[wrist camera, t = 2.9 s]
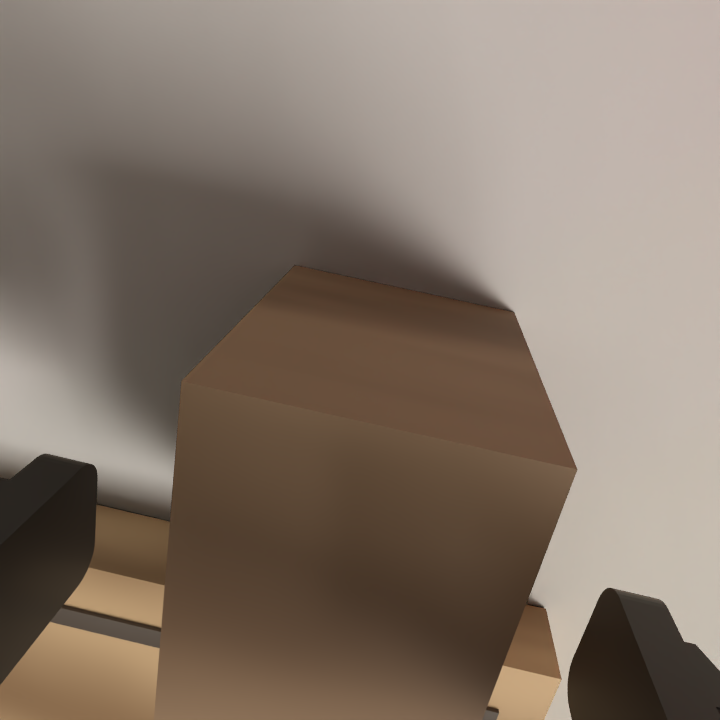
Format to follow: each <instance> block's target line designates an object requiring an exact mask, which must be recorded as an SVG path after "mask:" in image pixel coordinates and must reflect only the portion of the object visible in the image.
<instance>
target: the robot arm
mask: <svg viewBox="0 0 720 720" xmlns="http://www.w3.org/2000/svg"><path fill="white" fill-rule="evenodd" d="M96 504H97V470H96V468H95V466H94V465H92V464H88V463H84V462H80V461H75V460H71V459H67V458H63V457H58V456H54V455H50V454H42V455H40V456H39V457H37V458H36V459H34V460H33V461H32V462H31V463H30V464H28V465H27V466H26V467H25V468H23V469H22V470H21V471H20V472H19V473H17V474H16V475H15V476H14V477H12V478H11V479H10V480H8V479H4V478H0V685H1V684H2V682H3V681H4V680H5V678H6V677H7V676H8V675H9V673H10V672H11V671H12V670H13V668H14V667H15V666H16V664H17V663H18V662H19V661H20V659H21V658H22V657H23V656H24V654H25V653H26V652H27V650H28V649H29V648H30V647H31V645H32V644H33V643H34V642H35V640H36V639H37V638H38V637H39V635H40V634H41V633H42V631H43V630H44V629H45V628H46V626H47V625H48V624H49V623H50V621H51V620H52V619H53V617H54V616H55V615H56V614H57V612H58V611H59V610H60V609H61V607H62V606H63V605H64V603H65V602H66V601H67V600H68V598H69V597H70V596H71V595H72V593H73V592H74V591H75V590H76V588H77V587H78V586H79V584H80V583H81V581H82V580H83V578H84V576H85V574H86V572H87V570H88V568H89V565H90V562H91V559H92V556H93V552H94V547H95V529H96ZM568 703H569V708H570V713H571V717H572V720H720V671H719V670H718V669H717V668H716V667H715V665H714V664H713V663H712V662H711V661H710V660H709V659H708V658H707V657H706V655H705V654H704V653H703V652H702V651H701V650H700V649H699V648H698V647H697V646H696V644H691V643H687V642H684V641H683V639H682V637H681V635H680V633H679V631H678V628H677V626H676V624H675V622H674V620H673V618H672V616H671V614H670V612H669V610H668V608H667V606H666V605H665V604H664V602H663V601H661V600H659V599H655V598H651V597H647V596H643V595H638V594H634V593H630V592H626V591H621V590H617V589H613V588H607V589H605V590H604V591H603V592H602V594H601V595H600V597H599V599H598V602H597V604H596V606H595V609H594V611H593V613H592V616H591V618H590V620H589V623H588V625H587V627H586V630H585V632H584V634H583V636H582V639H581V641H580V643H579V646H578V648H577V650H576V653H575V655H574V657H573V660H572V663H571V666H570V671H569V677H568Z"/></svg>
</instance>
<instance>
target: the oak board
mask: <svg viewBox="0 0 720 720" xmlns="http://www.w3.org/2000/svg"><path fill="white" fill-rule="evenodd" d="M169 526H170V522H169V521H165V520H161V519H156V518H152V517H148V516H144V515H139V514H135V513H131V512H126V511H122V510H118V509H113V508H109V507H105V506H100V505H96V529H95V547H94V552H93V556H92V559H91V562H90V565H89V568H88V570H87V572H86V574H85V576H84V578H83V580H82V581H81V583H80V584H79V586H78V587H77V588H76V590H75V591H74V592H73V593H72V595H71V596H70V597H69V598H68V600H67V601H66V602H65V603H64V605H63V606H62V607H61V609H60V610H59V611H58V612H57V614H56V615H55V616H54V617H53V619H52V620H51V621H50V623H49V624H48V625H47V626H46V628H45V629H44V630H43V631H42V633H41V634H40V635H39V637H38V638H37V639H36V640H35V642H34V643H33V644H32V645H31V647H30V648H29V649H28V650H27V652H26V653H25V654H24V656H23V657H22V658H21V659H20V661H19V662H18V663H17V664H16V666H15V667H14V668H13V670H12V671H11V672H10V673H9V675H8V676H7V677H6V678H5V680H4V681H3V682H2V684H1V685H0V720H154V711H155V699H156V686H157V674H158V662H159V649H160V637H161V625H162V613H163V600H164V588H165V576H166V563H167V551H168V539H169ZM560 682H561V675H560V671H559V666H558V661H557V657H556V652H555V648H554V643H553V639H552V634H551V630H550V625H549V621H548V616H547V612H546V609H544V608H540V607H535V606H531V605H527V604H526V606H525V608H524V611H523V614H522V616H521V619H520V622H519V624H518V627H517V629H516V632H515V635H514V637H513V640H512V643H511V645H510V648H509V651H508V653H507V656H506V658H505V661H504V664H503V666H502V669H501V672H500V674H499V677H498V680H497V682H496V685H495V687H494V690H493V693H492V695H491V698H490V701H489V703H488V706H487V708H486V711H485V714H484V716H483V719H482V720H544V718H545V716H546V714H547V712H548V709H549V707H550V705H551V702H552V700H553V698H554V695H555V693H556V691H557V689H558V686H559V684H560Z"/></svg>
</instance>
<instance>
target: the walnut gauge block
mask: <svg viewBox="0 0 720 720" xmlns="http://www.w3.org/2000/svg"><path fill="white" fill-rule="evenodd" d="M576 472H577V468H576V465H575V463H574V460H573V458H572V455H571V453H570V450H569V448H568V445H567V443H566V440H565V438H564V435H563V433H562V430H561V428H560V425H559V423H558V420H557V418H556V415H555V413H554V410H553V408H552V405H551V403H550V400H549V398H548V395H547V393H546V390H545V388H544V385H543V383H542V381H541V378H540V376H539V373H538V371H537V368H536V366H535V363H534V361H533V358H532V356H531V353H530V351H529V348H528V346H527V343H526V341H525V338H524V336H523V333H522V331H521V328H520V326H519V323H518V321H517V318H516V316H515V313H514V312H511V311H506V310H502V309H497V308H492V307H488V306H483V305H478V304H474V303H469V302H464V301H460V300H455V299H450V298H446V297H441V296H436V295H432V294H427V293H422V292H418V291H413V290H408V289H404V288H399V287H394V286H390V285H385V284H380V283H376V282H371V281H366V280H362V279H357V278H352V277H348V276H343V275H338V274H334V273H329V272H324V271H320V270H315V269H310V268H306V267H301V266H296V265H295V266H294V267H293V268H292V269H291V270H290V271H289V272H288V273H287V274H286V275H285V276H284V277H283V278H282V279H281V280H280V281H279V282H278V283H277V284H276V285H275V286H274V287H273V288H272V289H271V290H270V291H269V292H268V293H267V294H266V295H265V296H264V297H263V298H262V299H261V300H260V301H259V302H258V303H257V304H256V305H255V306H254V308H253V309H252V310H251V311H250V312H249V313H248V314H247V315H246V316H245V317H244V318H243V319H242V320H241V321H240V322H239V323H238V324H237V325H236V326H235V327H234V328H233V329H232V330H231V331H230V332H229V333H228V334H227V335H226V336H225V337H224V338H223V339H222V340H221V341H220V342H219V343H218V344H217V345H216V346H215V347H214V348H213V349H212V350H211V351H210V352H209V353H208V354H207V355H206V356H205V357H204V358H203V360H202V361H201V362H200V363H199V364H198V365H197V366H196V367H195V368H194V369H193V370H192V371H191V372H190V373H189V374H188V375H187V376H186V377H185V378H184V379H183V380H182V381H181V391H180V403H179V416H178V428H177V440H176V453H175V465H174V477H173V489H172V502H171V514H170V526H169V539H168V551H167V563H166V576H165V588H164V600H163V613H162V625H161V637H160V649H159V662H158V674H157V686H156V699H155V711H154V720H482V719H483V716H484V714H485V711H486V708H487V706H488V703H489V701H490V698H491V695H492V693H493V690H494V687H495V685H496V682H497V680H498V677H499V674H500V672H501V669H502V666H503V664H504V661H505V658H506V656H507V653H508V651H509V648H510V645H511V643H512V640H513V637H514V635H515V632H516V629H517V627H518V624H519V622H520V619H521V616H522V614H523V611H524V608H525V606H526V603H527V601H528V598H529V595H530V593H531V590H532V587H533V585H534V582H535V579H536V577H537V574H538V572H539V569H540V566H541V564H542V561H543V558H544V556H545V553H546V550H547V548H548V545H549V543H550V540H551V537H552V535H553V532H554V529H555V527H556V524H557V522H558V519H559V516H560V514H561V511H562V508H563V506H564V503H565V500H566V498H567V495H568V493H569V490H570V487H571V485H572V482H573V479H574V477H575V474H576Z"/></svg>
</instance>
